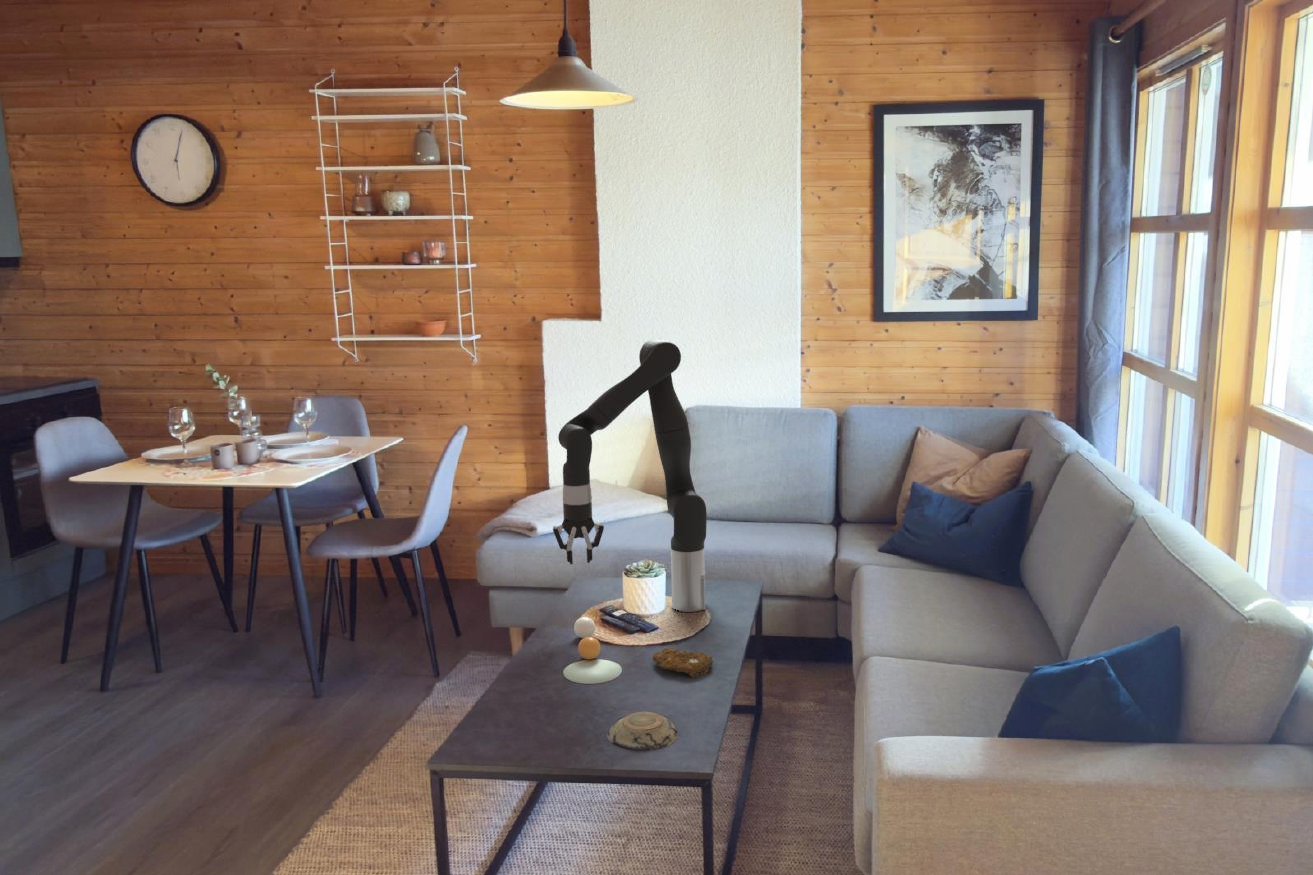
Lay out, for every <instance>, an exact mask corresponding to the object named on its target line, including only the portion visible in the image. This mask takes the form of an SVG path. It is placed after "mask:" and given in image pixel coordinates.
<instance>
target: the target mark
mask: <svg viewBox="0 0 1313 875" xmlns="http://www.w3.org/2000/svg"><path fill="white" fill-rule="evenodd" d="M622 672H623V669H622V666H621V665H620V664H619V663H616V662H614V661H612V660H608V659H607V660H606V659H601V658H600V659H599V658H598V659H597V658H594V659H590V660H588V659H584V660H580V661H579V660H578V661H575V662H572V663H570V664H569V665H567V666H566V667H565V668H564V669H563V672H562V675H563V676H564V678H565V679H567V680H568V681H569V682H573V683H577V684H583V685H584V684H585V685H596V684H603V683H608V682H611V681H613V680H615V679H617V678H618V677H620V675H622Z"/></svg>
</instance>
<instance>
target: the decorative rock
mask: <svg viewBox="0 0 1313 875" xmlns="http://www.w3.org/2000/svg"><path fill="white" fill-rule="evenodd" d="M712 658H713V655H707V654H705V652H702V653H701V652H694V651H684V650H683V651H680V650H677V649H675V648H671V647H667V648H664V649H663V650H662V651H659V652H655V653H653V655H652V657H651V659H652V660H653V662H654V663H655V665H656V666H658V667H660V668H661V669H666V670H667V671H671V672H674V673H676V672H679V673H680V672H682V673H684V674H687V675H688V676H690V677H692V678H695V677H696V678H697V677H699V676H702V675H703V676H709V672H711V667H712V666H713V662H714V661H713V659H712Z"/></svg>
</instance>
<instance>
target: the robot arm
mask: <svg viewBox="0 0 1313 875" xmlns="http://www.w3.org/2000/svg"><path fill="white" fill-rule="evenodd" d="M681 361H682V355H681V351H680V348H679V347H678V346H677V345H676V344H675V343H674V342H672V341H668V340H662V339H656V338H655V339H649V340H647V341H645V342H644V343H643V345H642V346H641V348H640V350H639V364H640V365H639V366H638V368H637V369H635V371H633V372H632V373H631V374H629V375H628V376H626V377H625V378H623V380H620V381H619V382H617V383H616V384H614V385H613V386H612V387H610V388H609V389H607V390H606V391H605V392H603V393H602V394H601V395H600V396H598V398H596V399H595V400H594V401H593V402H592V403H591V404H590V405H589V407H587V409H585V410H583V411H582V412H580V413H578V415H576V416H574V417H573V418H572V419H569V420H568V422H566V423H565V424H564V425H563V426H562V427H561V429H560V431H559V433H558V435H557V436H558V442H559V444H560V446H561V447H562V448H563V449H565V450H566V462H564V464H563V466H562V481H563V482H562V510H563V520H562V524H560V525H553V527H552V531H553V534H554V536H555V538H556V541H557V544H558V546H559V549H561V550H565V551H566V561H567V563H569V565H573V563H574V562H573V560H574V559H573V549H572V547H573V543H574V540H575V539H578V538H580V539H584V541H585V543H586V548H585V549H586V550H585V551H586V552H585V553H586V564H590V563H591V562H592V560H593V549H594V548H598V547H599V545H600V542H601V540H602V536H603V532H604V529H605V527H604V524H603V523H601V522H600V523H597V522H595V521H594V520H593V504H592V503H593V502H592V499H593V496H592V488H591V479H590V478H591V474H590V464H591V461H592V460H591V458H592V454H593V453H592V452H593V440H592V435H593V434H594V433H595V432H597V431H602V430H604V429H606V428H607V427H608V426H610V425H611V423H613V422H614V421H615V420H616V419H617V418H618V417H619V416H620V415H621V414H622V413H623V412H624V411H625V410H626V409H627V408H628V407H629V406H631V405H632V404H633V403H634V402H635V401H636V400H638V398H639V397H641V396H642V395H643V394H644V393H646V392H647V391H648V392H647V393H648V397H649V402H650V403H649V404H650V411H651V416H652V420H653V422H652V423H653V428H654V430H653V431H654V434H655V440H656V444H657V449H658V454H659V458H660V461H661V462H660V463H661V466H662V469H663V474H664V481H665V491H666V492H665V493H666V506H667V510H668V513H669V514H670V515H671V517H672V518H673V535H672V536H671V538H670V564H671V565H670V566H671V570H670V571H671V606H672V609H673V610H675V609H676V610H675V611H677V610H679V611H678V612H681V611H682V613H695V612H699V611H705V610H706V577H705V576H706V574H705V541H706V538H707V518H708V517H707V506H706V503H705V500H704V499H703V498H702V497H701V496H700V495H699V494H698V493H697V492H696V490H695V486H694V483H693V480H692V475H691V474H692V473H691V468H690V467H691V466H690V463H691V462H690V461H691V452H692V440H691V433H690V428H689V421H688V419H687V418H688V417H687V416H686V412H685V410H684V408H683V406H682V403H681V401H680V400H679V397H678V395H677V393H676V391H675V388H674V383H673V378H672V373H674V372H676V370H677V369H678V368H679V366H680V364H681ZM670 515H669V516H670ZM593 529H594V530H595V535H594V538H593V541H591V540H590V536H589V534H590V533H591V531H592V530H593ZM562 530H564V531H565V532H566V534H567V535H568V536H567V540H566V543H564V541H563V539H562V533H563V531H562Z"/></svg>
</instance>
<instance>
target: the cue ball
mask: <svg viewBox="0 0 1313 875" xmlns="http://www.w3.org/2000/svg"><path fill="white" fill-rule="evenodd" d="M573 630H574V634H575V635H576V636H577V637H578V638H581V639H584V638H586V637H593V635H594V634H595V631H596V624H595V622H594V621H593V619H591V617H588V616H582V617H580V618H577V620H576V621H575V623H574V625H573Z"/></svg>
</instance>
